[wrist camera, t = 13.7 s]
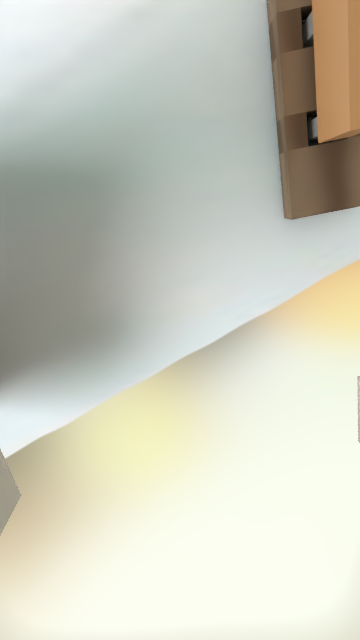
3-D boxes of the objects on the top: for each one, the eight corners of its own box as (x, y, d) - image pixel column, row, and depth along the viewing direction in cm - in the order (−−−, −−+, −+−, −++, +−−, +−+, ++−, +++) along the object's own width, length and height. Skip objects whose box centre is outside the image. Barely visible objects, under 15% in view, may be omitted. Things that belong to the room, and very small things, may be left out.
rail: (284, 218, 37) (291, 219, 35) (261, -64, 29) (269, -87, 27) (357, 204, 37) (369, 204, 35) (353, -86, 29) (369, -111, 27)
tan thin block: (302, 149, 35) (350, 130, 26) (295, 20, 32) (346, -57, 22) (331, 143, 35) (389, 122, 26) (327, 13, 31) (393, -67, 22)
